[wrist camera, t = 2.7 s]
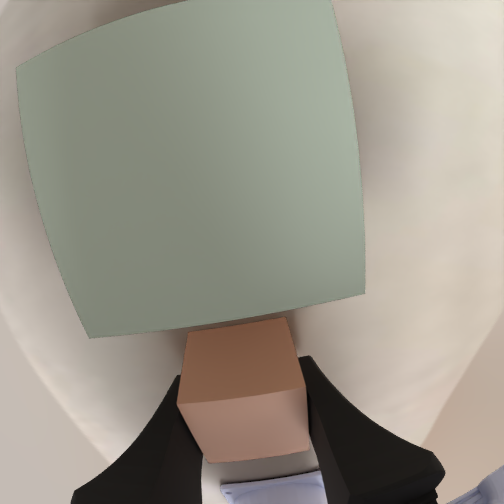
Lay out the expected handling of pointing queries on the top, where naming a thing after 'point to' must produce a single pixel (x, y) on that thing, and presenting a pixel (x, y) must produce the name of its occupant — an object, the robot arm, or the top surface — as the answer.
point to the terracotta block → (244, 392)
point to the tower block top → (197, 164)
